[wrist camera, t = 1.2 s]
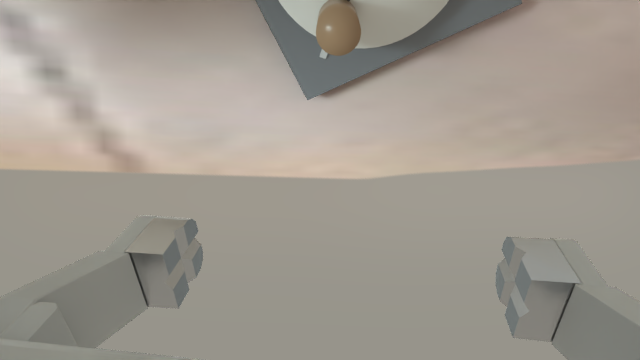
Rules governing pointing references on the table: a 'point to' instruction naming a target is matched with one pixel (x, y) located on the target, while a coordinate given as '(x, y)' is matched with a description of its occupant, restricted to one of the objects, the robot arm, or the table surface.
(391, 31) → the dial
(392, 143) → the table surface
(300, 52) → the dial housing
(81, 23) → the table surface
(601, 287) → the robot arm
